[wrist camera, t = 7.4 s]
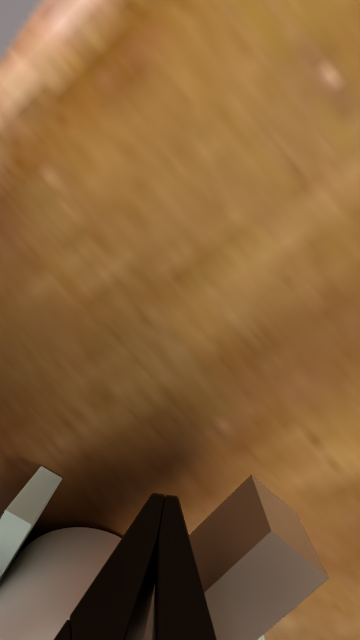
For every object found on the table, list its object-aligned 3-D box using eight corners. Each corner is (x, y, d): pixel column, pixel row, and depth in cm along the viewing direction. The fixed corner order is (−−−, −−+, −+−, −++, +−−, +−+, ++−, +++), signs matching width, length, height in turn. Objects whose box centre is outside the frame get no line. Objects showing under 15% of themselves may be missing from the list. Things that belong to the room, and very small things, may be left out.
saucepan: (98, 673, 14) (21, 1014, 7) (-17, 591, 13) (-212, 881, 7) (305, 479, 12) (448, 704, 5) (182, 373, 11) (178, 486, 5)
